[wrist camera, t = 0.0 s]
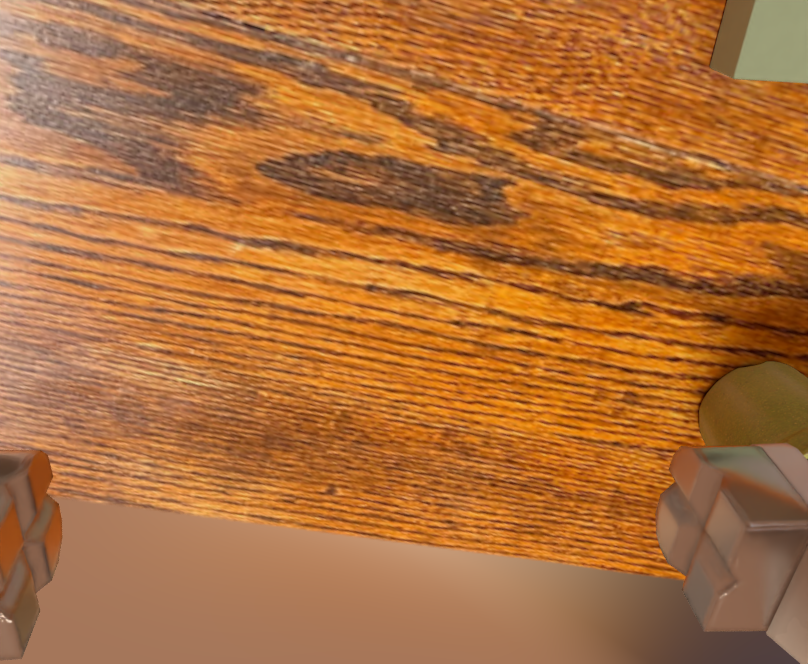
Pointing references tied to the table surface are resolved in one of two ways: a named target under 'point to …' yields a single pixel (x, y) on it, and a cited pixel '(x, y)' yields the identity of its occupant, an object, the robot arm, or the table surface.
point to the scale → (763, 41)
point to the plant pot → (757, 407)
